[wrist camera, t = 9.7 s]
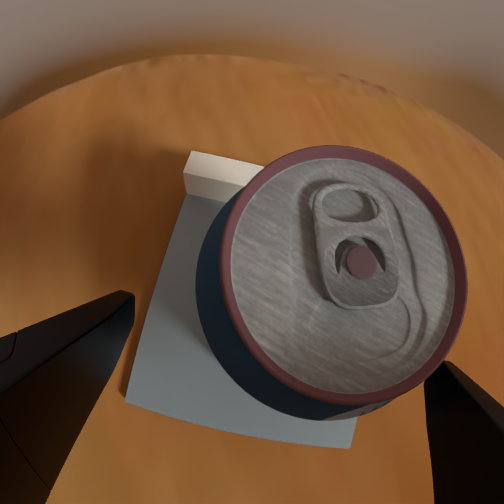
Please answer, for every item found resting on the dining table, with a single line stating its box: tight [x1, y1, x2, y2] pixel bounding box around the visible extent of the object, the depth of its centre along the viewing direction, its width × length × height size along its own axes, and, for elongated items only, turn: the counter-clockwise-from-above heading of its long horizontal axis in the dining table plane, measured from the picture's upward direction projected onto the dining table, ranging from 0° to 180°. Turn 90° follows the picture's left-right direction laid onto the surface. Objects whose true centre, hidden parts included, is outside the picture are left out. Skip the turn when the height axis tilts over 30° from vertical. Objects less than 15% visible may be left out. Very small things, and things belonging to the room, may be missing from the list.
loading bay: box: [124, 151, 358, 449], centre depth 17 cm, size 15×13×3 cm
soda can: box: [195, 145, 468, 421], centre depth 12 cm, size 7×7×12 cm
